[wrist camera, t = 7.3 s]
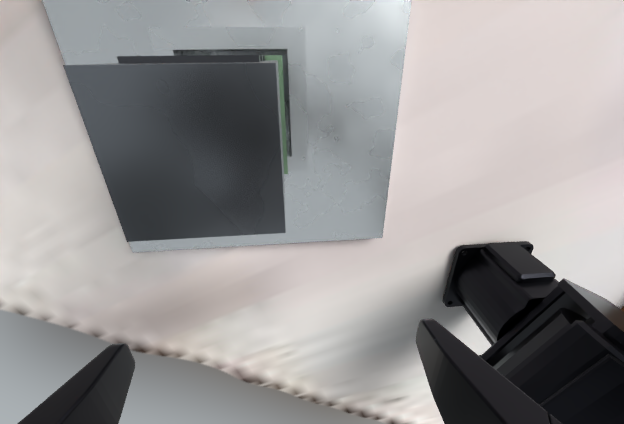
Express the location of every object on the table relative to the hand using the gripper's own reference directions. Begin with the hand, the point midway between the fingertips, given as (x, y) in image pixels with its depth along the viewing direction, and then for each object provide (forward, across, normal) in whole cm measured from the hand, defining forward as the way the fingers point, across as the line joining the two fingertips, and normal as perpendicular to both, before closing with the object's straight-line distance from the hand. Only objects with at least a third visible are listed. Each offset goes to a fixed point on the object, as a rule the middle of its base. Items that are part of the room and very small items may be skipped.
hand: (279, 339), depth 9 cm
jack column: (+8, +2, -6) cm, 10 cm away
